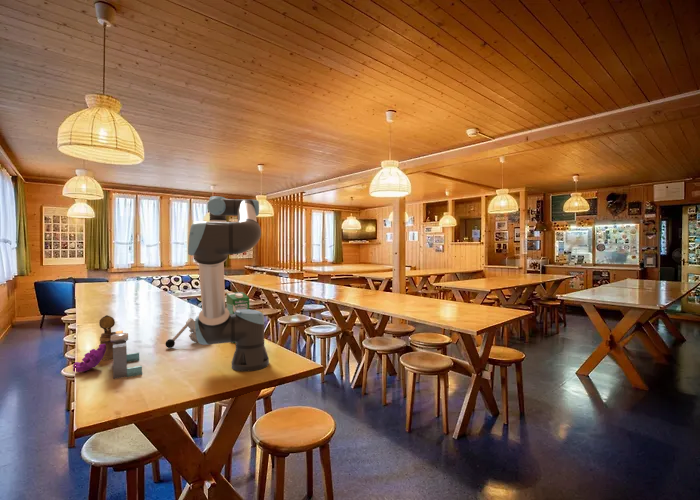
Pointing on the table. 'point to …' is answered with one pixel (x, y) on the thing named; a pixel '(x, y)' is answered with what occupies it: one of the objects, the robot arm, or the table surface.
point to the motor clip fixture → (123, 357)
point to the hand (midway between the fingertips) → (218, 279)
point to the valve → (189, 323)
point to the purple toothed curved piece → (90, 359)
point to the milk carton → (236, 302)
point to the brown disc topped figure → (107, 336)
